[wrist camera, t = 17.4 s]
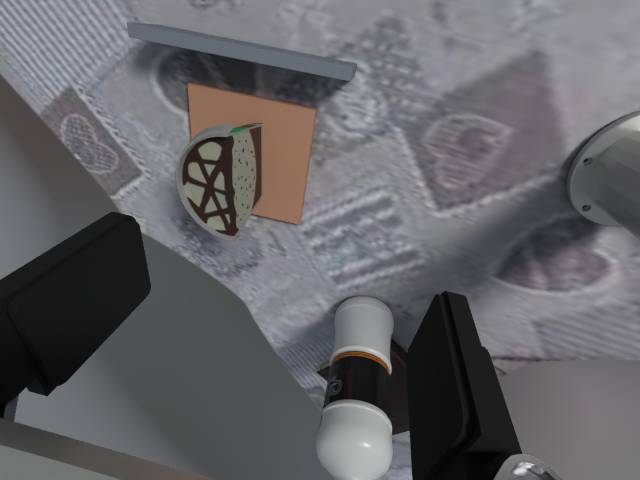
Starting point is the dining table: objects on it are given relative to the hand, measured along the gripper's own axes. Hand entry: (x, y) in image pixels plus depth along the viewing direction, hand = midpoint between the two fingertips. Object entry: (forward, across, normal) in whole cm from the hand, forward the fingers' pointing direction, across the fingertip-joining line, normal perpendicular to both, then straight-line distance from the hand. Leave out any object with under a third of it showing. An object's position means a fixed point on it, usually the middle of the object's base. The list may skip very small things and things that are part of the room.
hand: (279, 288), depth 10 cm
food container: (+30, +13, +8) cm, 33 cm away
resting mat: (+30, +12, +8) cm, 34 cm away
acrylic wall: (+30, +12, -4) cm, 33 cm away
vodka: (+31, -8, +30) cm, 44 cm away
